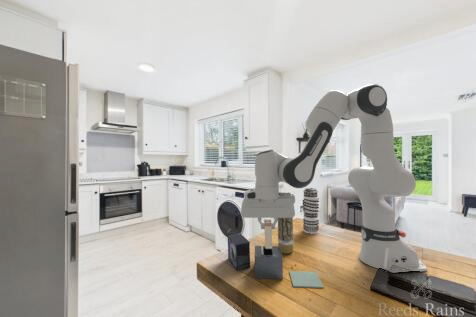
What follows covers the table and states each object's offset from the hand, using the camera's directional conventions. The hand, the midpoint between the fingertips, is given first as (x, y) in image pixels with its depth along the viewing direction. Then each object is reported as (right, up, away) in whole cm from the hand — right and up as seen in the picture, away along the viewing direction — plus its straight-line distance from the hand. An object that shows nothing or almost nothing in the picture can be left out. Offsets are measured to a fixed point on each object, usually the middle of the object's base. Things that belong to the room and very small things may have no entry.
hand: (267, 228), depth 79 cm
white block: (0, -7, 0) cm, 7 cm away
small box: (-11, -17, +7) cm, 22 cm away
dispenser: (0, -17, 0) cm, 17 cm away
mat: (+13, -17, -5) cm, 21 cm away
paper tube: (+11, -17, +17) cm, 26 cm away
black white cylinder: (+31, -16, +41) cm, 54 cm away
